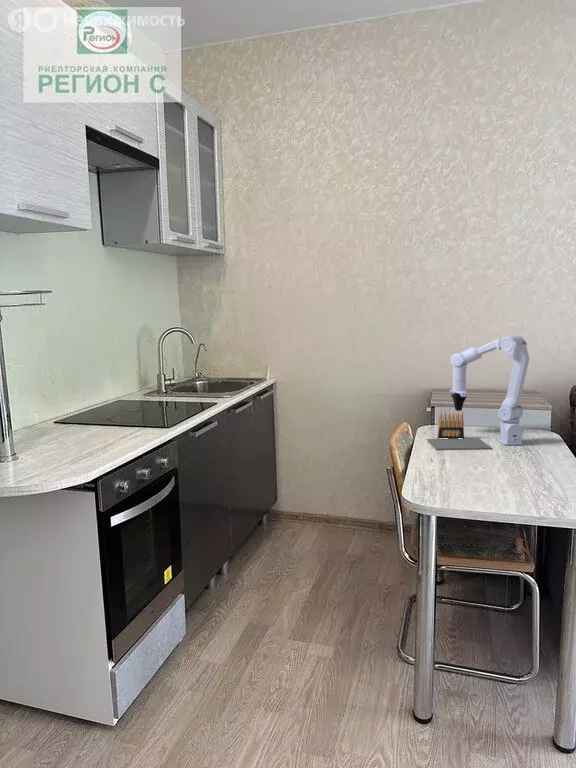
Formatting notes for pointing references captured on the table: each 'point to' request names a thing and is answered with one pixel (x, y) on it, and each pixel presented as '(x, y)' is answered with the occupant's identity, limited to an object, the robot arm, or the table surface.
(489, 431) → the table surface
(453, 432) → the ammunition clip
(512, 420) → the robot arm
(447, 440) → the mat
